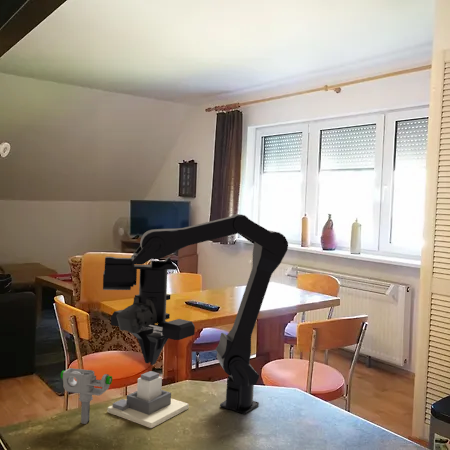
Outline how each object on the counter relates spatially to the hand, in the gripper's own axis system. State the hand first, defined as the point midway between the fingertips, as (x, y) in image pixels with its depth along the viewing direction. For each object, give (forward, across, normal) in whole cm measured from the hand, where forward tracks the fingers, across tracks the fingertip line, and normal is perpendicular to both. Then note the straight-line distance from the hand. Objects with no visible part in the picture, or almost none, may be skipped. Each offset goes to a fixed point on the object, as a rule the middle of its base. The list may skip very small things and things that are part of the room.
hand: (150, 363), depth 106 cm
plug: (+9, 0, 0) cm, 9 cm away
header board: (+10, 0, 0) cm, 10 cm away
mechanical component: (+10, -6, -12) cm, 17 cm away
